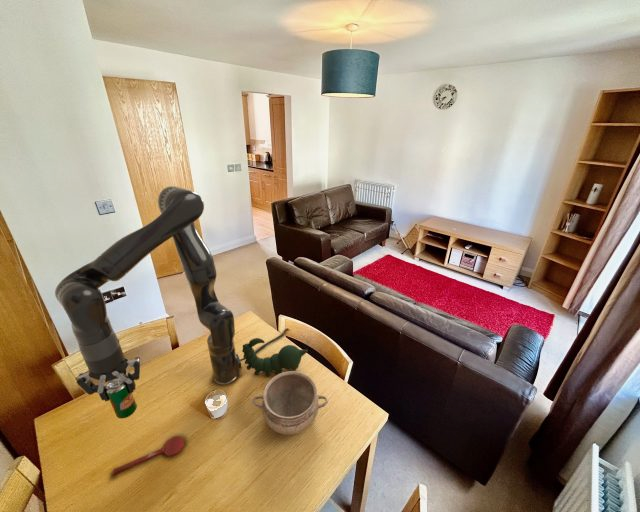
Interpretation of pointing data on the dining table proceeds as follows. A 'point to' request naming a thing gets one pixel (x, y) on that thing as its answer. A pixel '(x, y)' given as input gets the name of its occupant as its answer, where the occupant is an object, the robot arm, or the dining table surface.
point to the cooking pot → (290, 402)
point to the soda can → (120, 398)
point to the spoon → (156, 453)
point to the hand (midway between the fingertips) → (120, 394)
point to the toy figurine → (272, 358)
